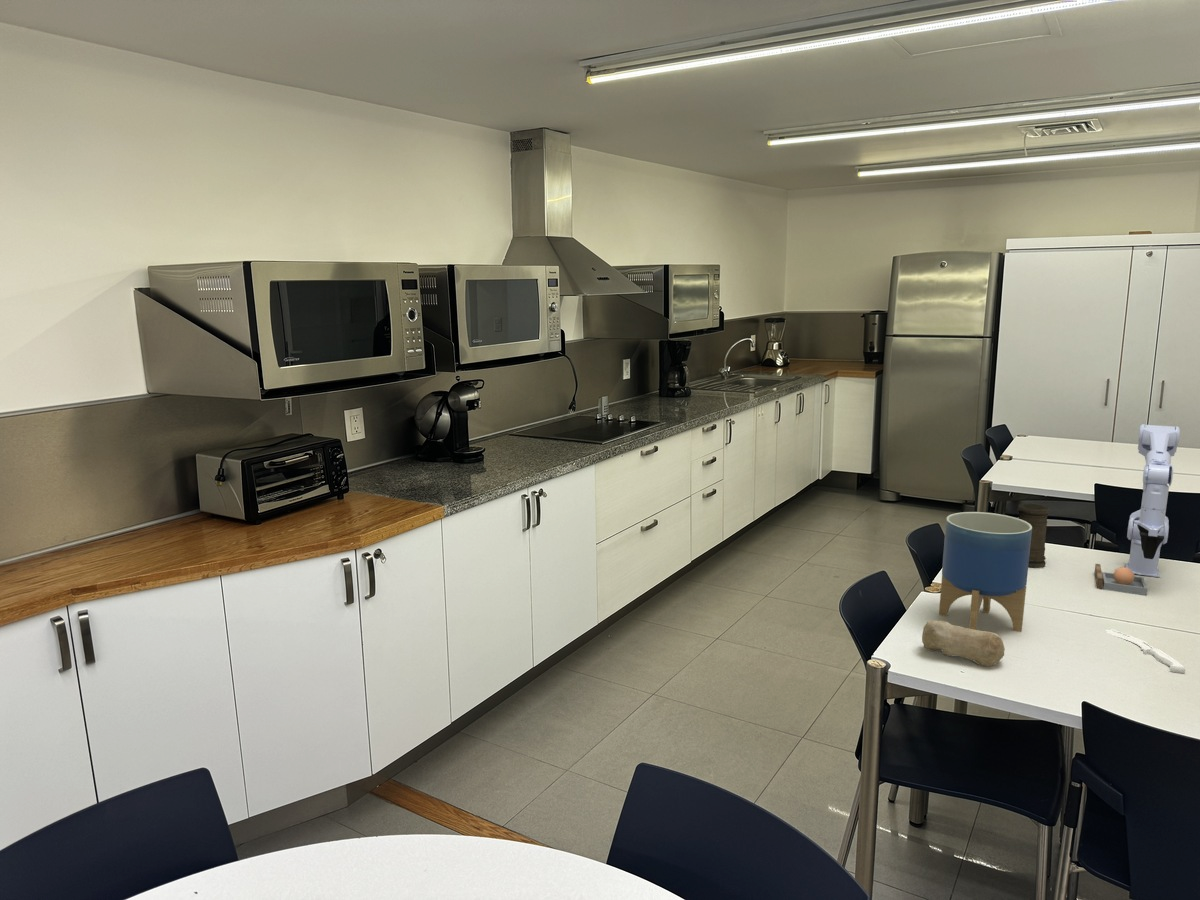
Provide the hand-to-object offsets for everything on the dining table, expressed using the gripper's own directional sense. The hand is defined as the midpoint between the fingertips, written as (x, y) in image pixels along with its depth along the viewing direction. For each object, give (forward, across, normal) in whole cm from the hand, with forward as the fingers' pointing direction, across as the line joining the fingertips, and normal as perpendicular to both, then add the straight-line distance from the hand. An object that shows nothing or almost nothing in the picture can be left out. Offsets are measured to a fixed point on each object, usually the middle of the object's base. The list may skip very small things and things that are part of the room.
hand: (1147, 554), depth 227 cm
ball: (+9, +1, -5) cm, 11 cm away
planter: (+10, +48, -38) cm, 62 cm away
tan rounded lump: (+10, +72, -39) cm, 82 cm away
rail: (+10, 0, -11) cm, 15 cm away
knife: (+10, +45, -5) cm, 46 cm away
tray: (+10, +1, -5) cm, 11 cm away
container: (+10, -8, -29) cm, 32 cm away
